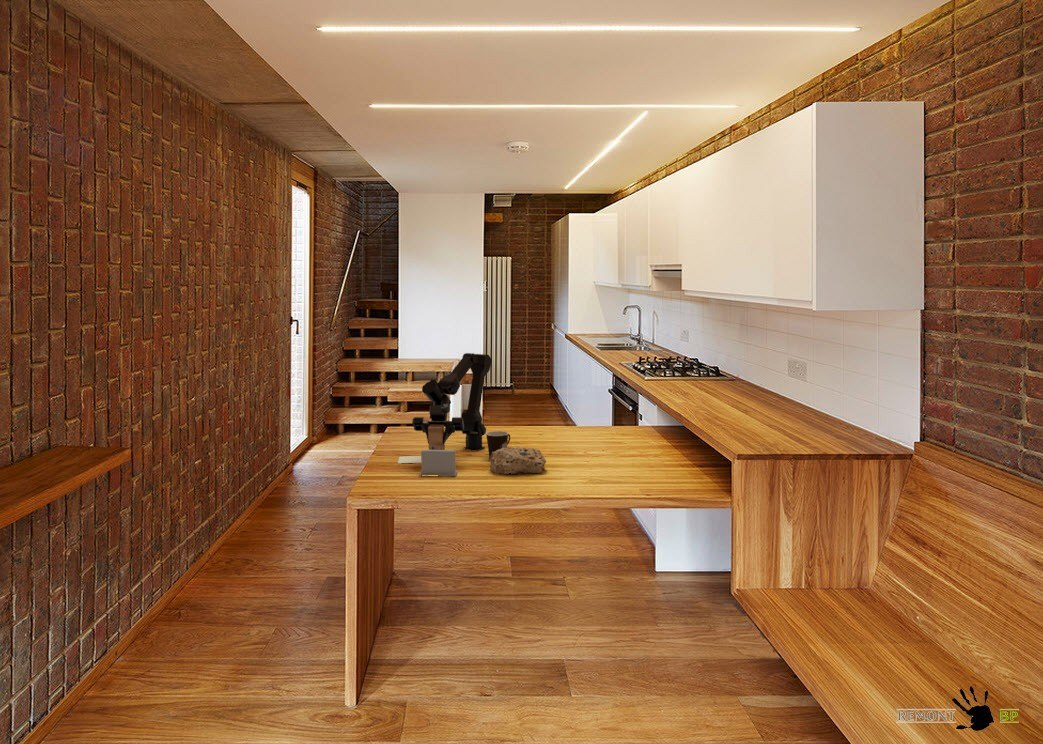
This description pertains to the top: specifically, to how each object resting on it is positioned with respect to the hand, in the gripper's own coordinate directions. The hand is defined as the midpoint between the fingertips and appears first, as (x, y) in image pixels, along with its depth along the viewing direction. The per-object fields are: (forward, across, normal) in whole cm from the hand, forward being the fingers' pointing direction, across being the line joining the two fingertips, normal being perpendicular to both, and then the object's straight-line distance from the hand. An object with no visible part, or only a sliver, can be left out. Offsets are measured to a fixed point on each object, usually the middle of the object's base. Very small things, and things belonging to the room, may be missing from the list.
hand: (435, 443), depth 277 cm
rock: (+7, +30, +8) cm, 32 cm away
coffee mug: (-6, +22, +20) cm, 31 cm away
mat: (-2, -12, +17) cm, 21 cm away
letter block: (+4, 0, +6) cm, 7 cm away
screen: (+12, +2, +2) cm, 12 cm away
